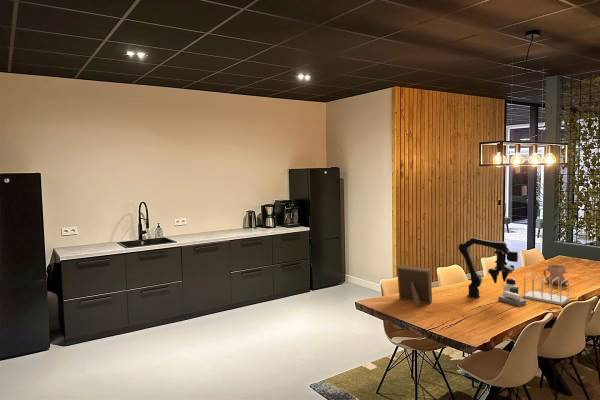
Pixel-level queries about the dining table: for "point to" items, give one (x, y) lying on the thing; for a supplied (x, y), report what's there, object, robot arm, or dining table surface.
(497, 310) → the dining table surface
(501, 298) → the grey base block
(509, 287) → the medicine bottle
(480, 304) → the dining table surface
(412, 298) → the photo frame
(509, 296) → the white arch block
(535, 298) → the file sorter
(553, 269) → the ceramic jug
